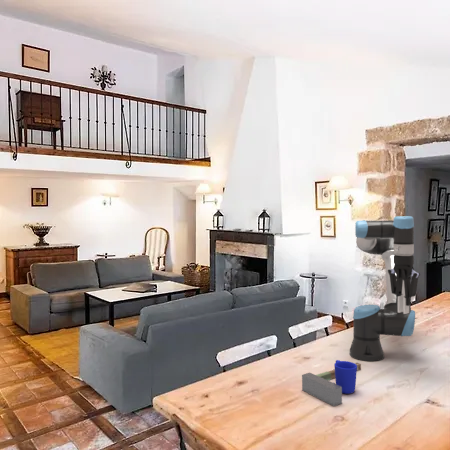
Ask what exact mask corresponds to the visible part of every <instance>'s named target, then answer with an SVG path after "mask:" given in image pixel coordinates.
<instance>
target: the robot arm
mask: <svg viewBox="0 0 450 450" xmlns="http://www.w3.org/2000/svg"><path fill="white" fill-rule="evenodd" d="M414 220H415V219H414V217H413V216H411V215H408V216H407V215H405V216H403V215H402V216H401V215H399V216H398V215H397V216H394V217H393V220H391V219H390V220H364V219H363V220H356V221H355V225H354V226H355V228H354V230H355V232H354V233H355V238H356V239H355V240H356V245H357V247H358V249H360V250H361V251H363V252H364V253H366V254H370V255H377V256H378V255H379V256H381V259H382V260H383V261H384V265H385V266H384V267H385V269H384V271H385V286H386V287H385V288H386V303H385V304H384V306H383V308H381V306H379V305H377V304H363V305H358V306H356V307H355V308H354V309H353V314H352V315H353V316H352V319H353V327H352V328H353V331H352V332H353V337H352V338H353V339H352V341H351V345H350V347H349V356H350V357H352V358H353V359H356V360H358V361H359V360H360V361H365V362H377V361H382V360H384V357H385V353H384V350H383V347H382V344H381V343H382V342H381V337H380V335H383V336H393V337H395V336H397V337H411V336H413V334H414V331H415V324H416V311H415V310H413V309H412V307H411V305H412V298H413V297H416V296H417V288H418V282H419V278H420V276H421V274H420V272H417V271H415V268H414V264H415V262H414V260H415V259H414V257H415V256H414V253H415V246H414V235H415V233H414V231H415V223H414V222H415V221H414Z"/></svg>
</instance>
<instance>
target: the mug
mask: <svg viewBox="0 0 450 450" xmlns="http://www.w3.org/2000/svg"><path fill="white" fill-rule="evenodd" d="M355 363H356V362H351V361H349V360H348V361H347V360H339V359H336V360H335V363H334V369H335V378H334V379H335V384H337V385H339V386H341V387H342V394H348V395H349V394H353V393H354V392H355V390H356V383H357V372H358V371H357V365H356V364H355Z"/></svg>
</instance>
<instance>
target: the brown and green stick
mask: <svg viewBox="0 0 450 450" xmlns="http://www.w3.org/2000/svg"><path fill="white" fill-rule="evenodd" d="M354 363H355V364H356V365H357V372H359V371H361V370H362V365H361V363H359V362H354ZM316 375H317V376H319V377H321V378H323V379H325V380H328V381H331V380H333V379H336V378H335V368H333V370H332V369H331V370H328V371H324V372H321V373H318V374H316Z"/></svg>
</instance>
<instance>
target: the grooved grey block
mask: <svg viewBox="0 0 450 450" xmlns="http://www.w3.org/2000/svg"><path fill="white" fill-rule="evenodd" d="M301 390H302V391H303V392H305V393H306V394H308V395H311V396H312V397H315V398H316V399H318V400H319V401H322V402H324V403H326V404H328V405H331V406H332V407H336V406H339V405H341V404H343V393H342V387H341V386H339V385H337V384H336V383H334V382H332V381H331V380H325V379H323V378H321V377H319V376H317V374H314V373H312V372H307V373H304V374H301Z"/></svg>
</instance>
